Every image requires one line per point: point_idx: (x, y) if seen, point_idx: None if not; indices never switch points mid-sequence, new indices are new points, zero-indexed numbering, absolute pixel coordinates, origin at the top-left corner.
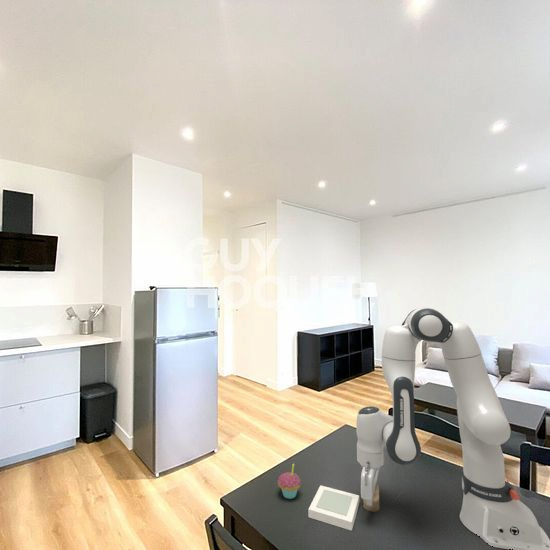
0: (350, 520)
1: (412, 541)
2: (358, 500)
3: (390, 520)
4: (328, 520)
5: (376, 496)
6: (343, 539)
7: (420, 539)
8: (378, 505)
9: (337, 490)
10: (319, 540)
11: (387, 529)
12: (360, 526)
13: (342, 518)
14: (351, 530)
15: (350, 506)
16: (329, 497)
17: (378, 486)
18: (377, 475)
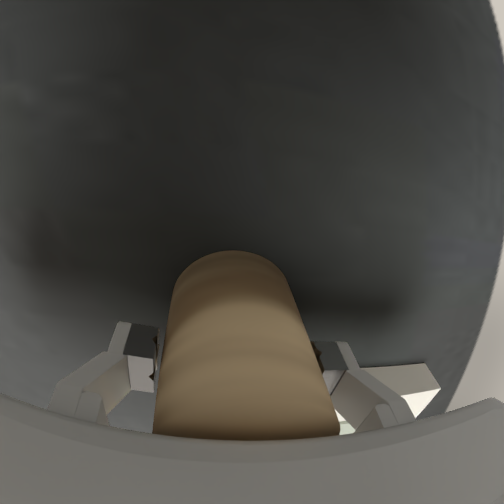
0: (430, 394)
1: (495, 96)
2: None
3: (368, 179)
4: None
5: (306, 349)
6: (449, 372)
7: (479, 44)
8: (267, 275)
9: None
10: (434, 413)
11: (439, 214)
12: (408, 341)
13: (414, 416)
14: (424, 364)
15: (341, 419)
16: None
17: (256, 402)
18: (73, 455)
